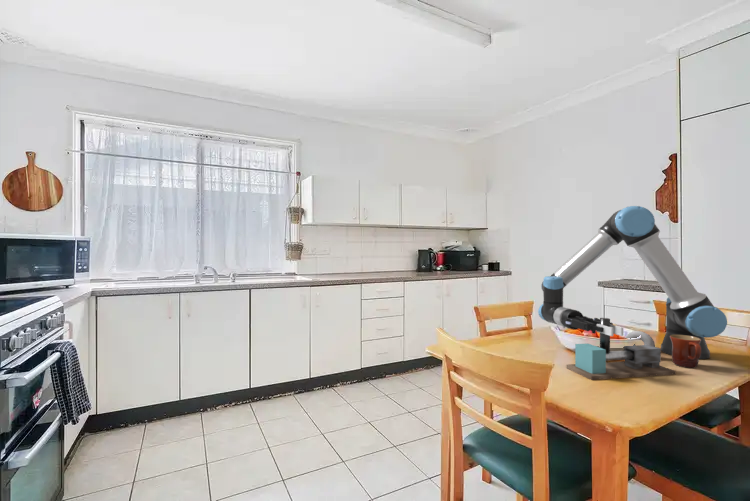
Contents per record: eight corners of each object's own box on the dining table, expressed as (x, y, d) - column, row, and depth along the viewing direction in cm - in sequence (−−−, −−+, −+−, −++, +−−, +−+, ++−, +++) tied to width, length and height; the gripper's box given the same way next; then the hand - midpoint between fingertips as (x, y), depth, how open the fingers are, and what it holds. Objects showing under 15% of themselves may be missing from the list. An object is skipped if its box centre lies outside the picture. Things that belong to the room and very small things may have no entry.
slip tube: (635, 357, 130) (635, 316, 130) (642, 359, 127) (642, 318, 127) (588, 359, 127) (588, 318, 127) (595, 362, 124) (595, 319, 124)
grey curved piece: (656, 358, 142) (656, 332, 142) (653, 360, 139) (653, 334, 139) (625, 352, 149) (626, 328, 149) (623, 354, 147) (623, 329, 147)
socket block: (588, 365, 130) (588, 343, 129) (605, 373, 122) (605, 349, 122) (575, 366, 129) (575, 344, 129) (592, 373, 121) (592, 350, 121)
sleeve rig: (644, 363, 136) (644, 342, 135) (675, 374, 124) (675, 351, 124) (566, 368, 130) (566, 345, 130) (591, 380, 119) (591, 355, 118)
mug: (664, 361, 138) (664, 334, 138) (691, 362, 137) (691, 335, 136) (684, 371, 127) (684, 342, 126) (713, 373, 125) (714, 343, 125)
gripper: (587, 327, 145) (638, 342, 122) (550, 328, 143) (595, 344, 119) (587, 308, 145) (638, 319, 122) (550, 309, 143) (595, 321, 119)
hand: (617, 331), depth 121 cm, fingers closed on slip tube, 3 cm apart
